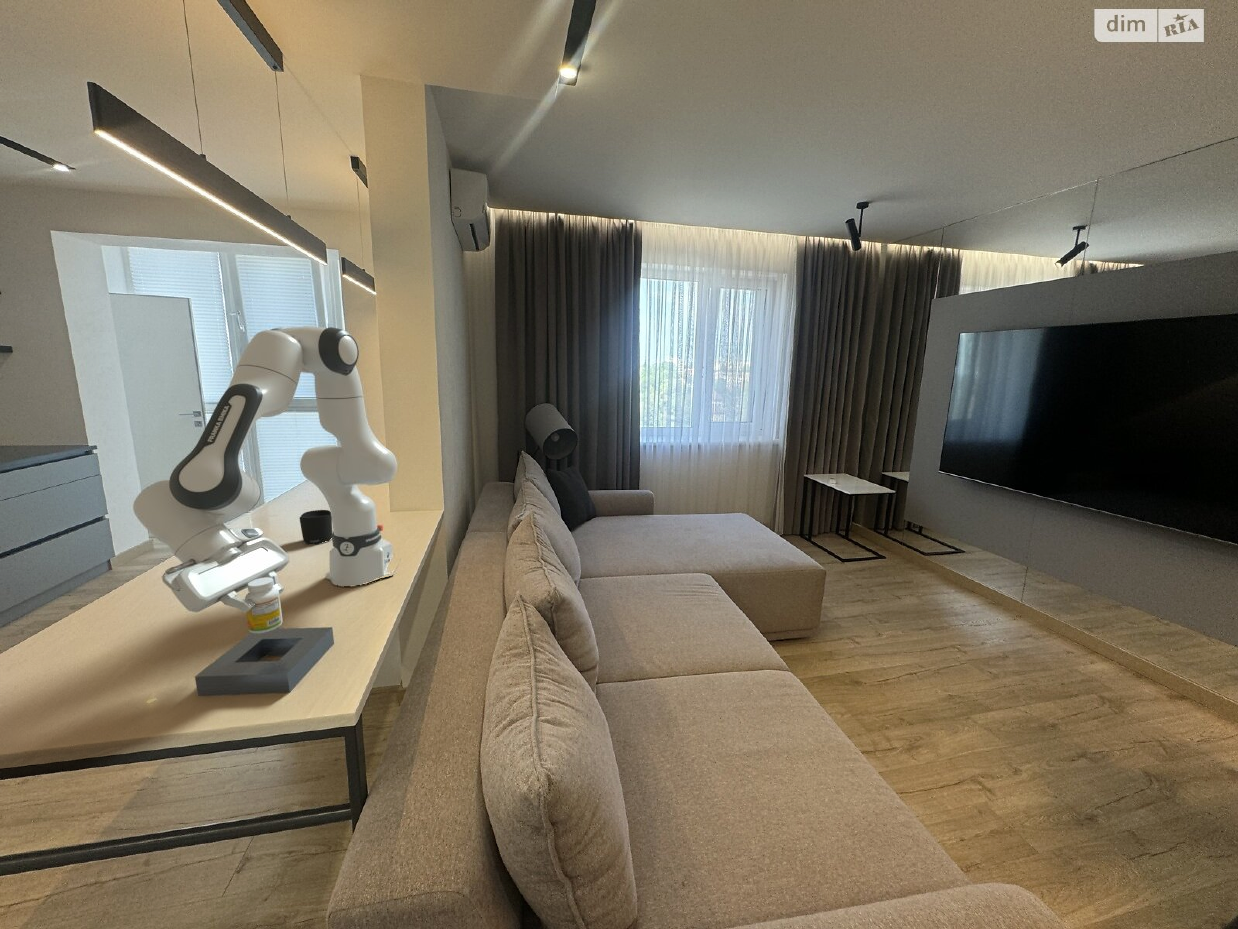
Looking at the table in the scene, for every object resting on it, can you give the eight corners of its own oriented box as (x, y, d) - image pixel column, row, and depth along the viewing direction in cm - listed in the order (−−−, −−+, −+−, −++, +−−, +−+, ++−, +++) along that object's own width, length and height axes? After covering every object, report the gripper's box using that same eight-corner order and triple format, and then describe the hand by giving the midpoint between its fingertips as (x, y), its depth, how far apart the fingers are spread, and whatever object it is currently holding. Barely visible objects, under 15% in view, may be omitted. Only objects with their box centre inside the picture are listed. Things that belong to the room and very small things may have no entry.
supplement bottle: (254, 622, 93) (248, 577, 91) (286, 618, 95) (281, 574, 93) (244, 636, 88) (238, 589, 86) (278, 631, 90) (272, 585, 88)
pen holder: (295, 543, 160) (292, 516, 158) (320, 534, 169) (317, 508, 167) (316, 546, 157) (313, 519, 155) (340, 538, 166) (337, 511, 164)
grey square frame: (257, 646, 100) (255, 629, 99) (334, 643, 102) (332, 627, 101) (198, 696, 85) (194, 676, 84) (289, 692, 86) (287, 673, 85)
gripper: (165, 562, 78) (225, 618, 79) (265, 525, 98) (312, 570, 100) (145, 585, 80) (205, 640, 81) (248, 543, 100) (295, 588, 101)
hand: (265, 601), depth 90 cm, fingers closed on supplement bottle, 5 cm apart
